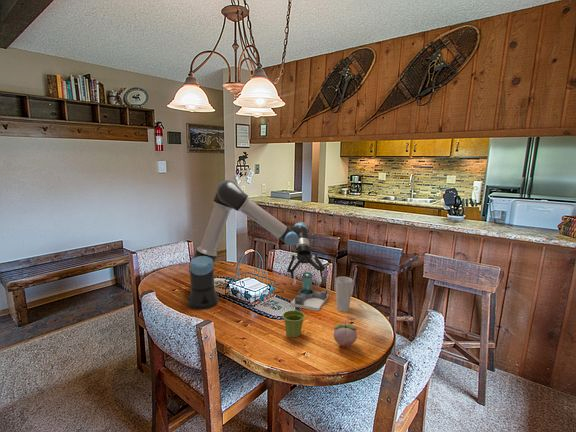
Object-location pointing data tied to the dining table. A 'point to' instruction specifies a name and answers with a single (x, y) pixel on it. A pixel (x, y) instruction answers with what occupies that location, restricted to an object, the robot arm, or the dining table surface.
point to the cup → (343, 293)
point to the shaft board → (310, 300)
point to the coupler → (307, 283)
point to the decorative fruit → (345, 334)
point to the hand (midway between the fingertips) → (307, 283)
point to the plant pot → (293, 322)
